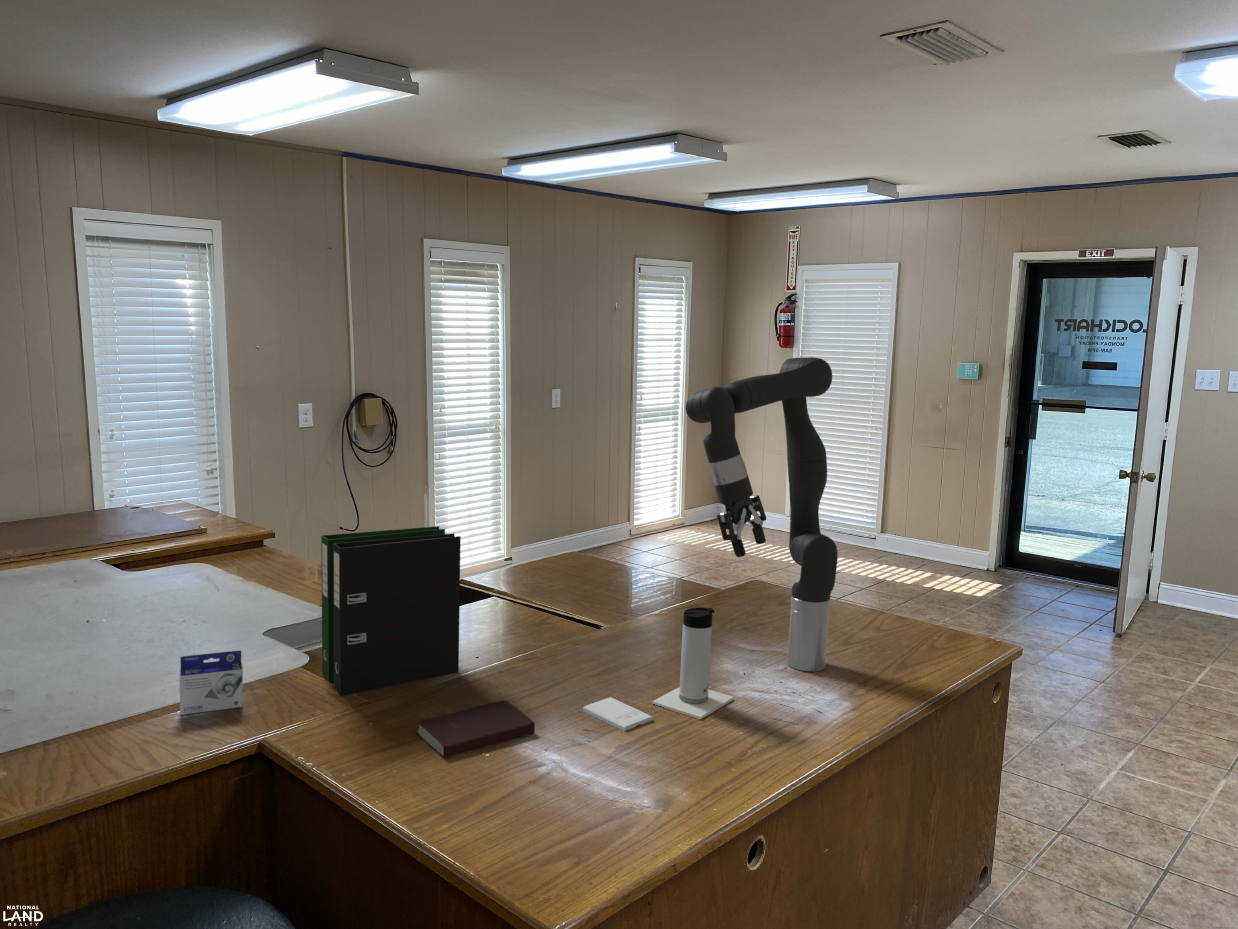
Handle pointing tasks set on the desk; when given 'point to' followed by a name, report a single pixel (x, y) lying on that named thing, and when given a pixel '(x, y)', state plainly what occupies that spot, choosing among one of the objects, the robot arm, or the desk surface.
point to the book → (475, 728)
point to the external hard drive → (617, 714)
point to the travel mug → (695, 655)
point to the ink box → (211, 682)
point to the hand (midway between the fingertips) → (751, 549)
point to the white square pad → (693, 710)
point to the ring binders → (389, 607)
